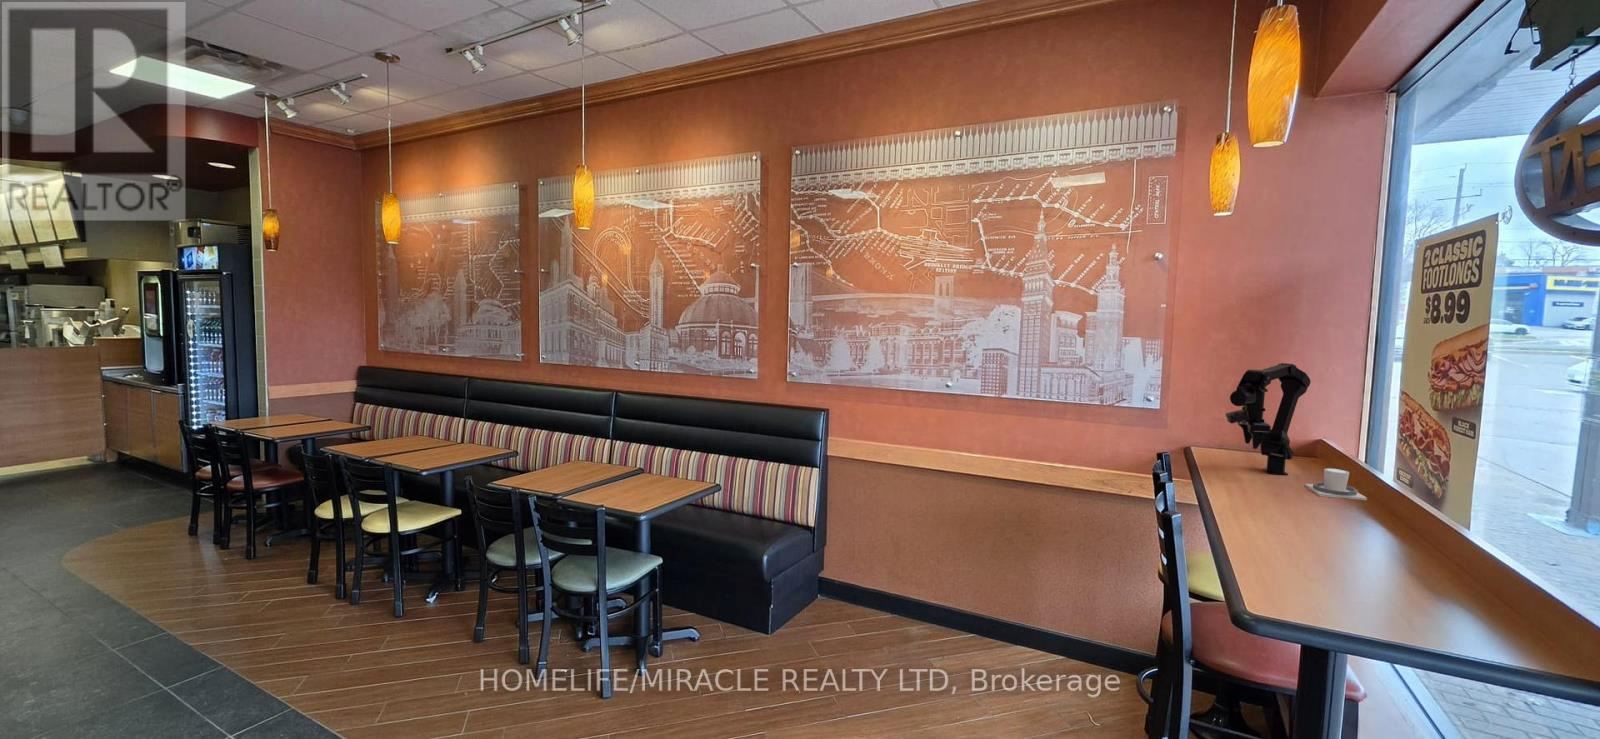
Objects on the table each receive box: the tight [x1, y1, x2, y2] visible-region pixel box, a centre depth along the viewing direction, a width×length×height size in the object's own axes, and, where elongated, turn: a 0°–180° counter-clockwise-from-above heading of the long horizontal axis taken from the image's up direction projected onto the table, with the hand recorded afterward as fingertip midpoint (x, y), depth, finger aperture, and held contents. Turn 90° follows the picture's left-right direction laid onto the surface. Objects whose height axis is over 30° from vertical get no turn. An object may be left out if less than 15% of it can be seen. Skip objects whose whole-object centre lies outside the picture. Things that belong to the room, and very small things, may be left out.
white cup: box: [1323, 467, 1350, 491], centre depth 226 cm, size 7×7×7 cm
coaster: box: [1304, 481, 1368, 501], centre depth 226 cm, size 13×13×2 cm
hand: (1250, 446), depth 243 cm, fingers open, 9 cm apart
